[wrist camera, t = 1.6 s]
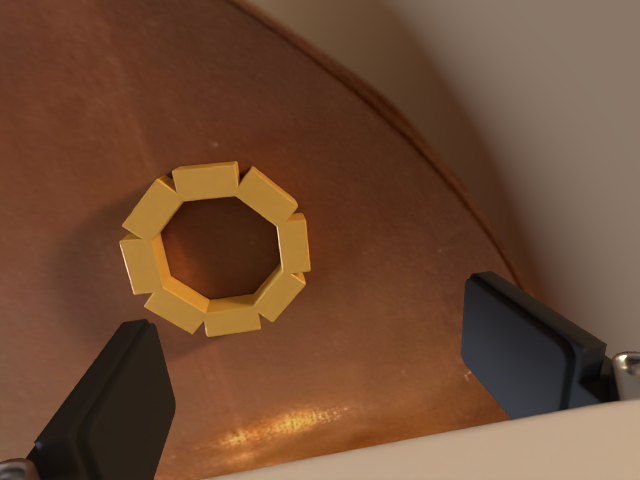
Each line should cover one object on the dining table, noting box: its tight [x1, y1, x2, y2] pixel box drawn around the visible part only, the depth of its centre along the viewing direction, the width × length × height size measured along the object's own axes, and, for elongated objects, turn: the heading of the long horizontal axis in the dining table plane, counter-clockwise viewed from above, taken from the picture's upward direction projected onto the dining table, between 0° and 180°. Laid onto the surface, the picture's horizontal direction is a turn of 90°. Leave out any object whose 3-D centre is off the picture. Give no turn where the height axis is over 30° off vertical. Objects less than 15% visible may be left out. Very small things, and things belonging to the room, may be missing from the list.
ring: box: [119, 161, 310, 337], centre depth 17 cm, size 8×8×1 cm
